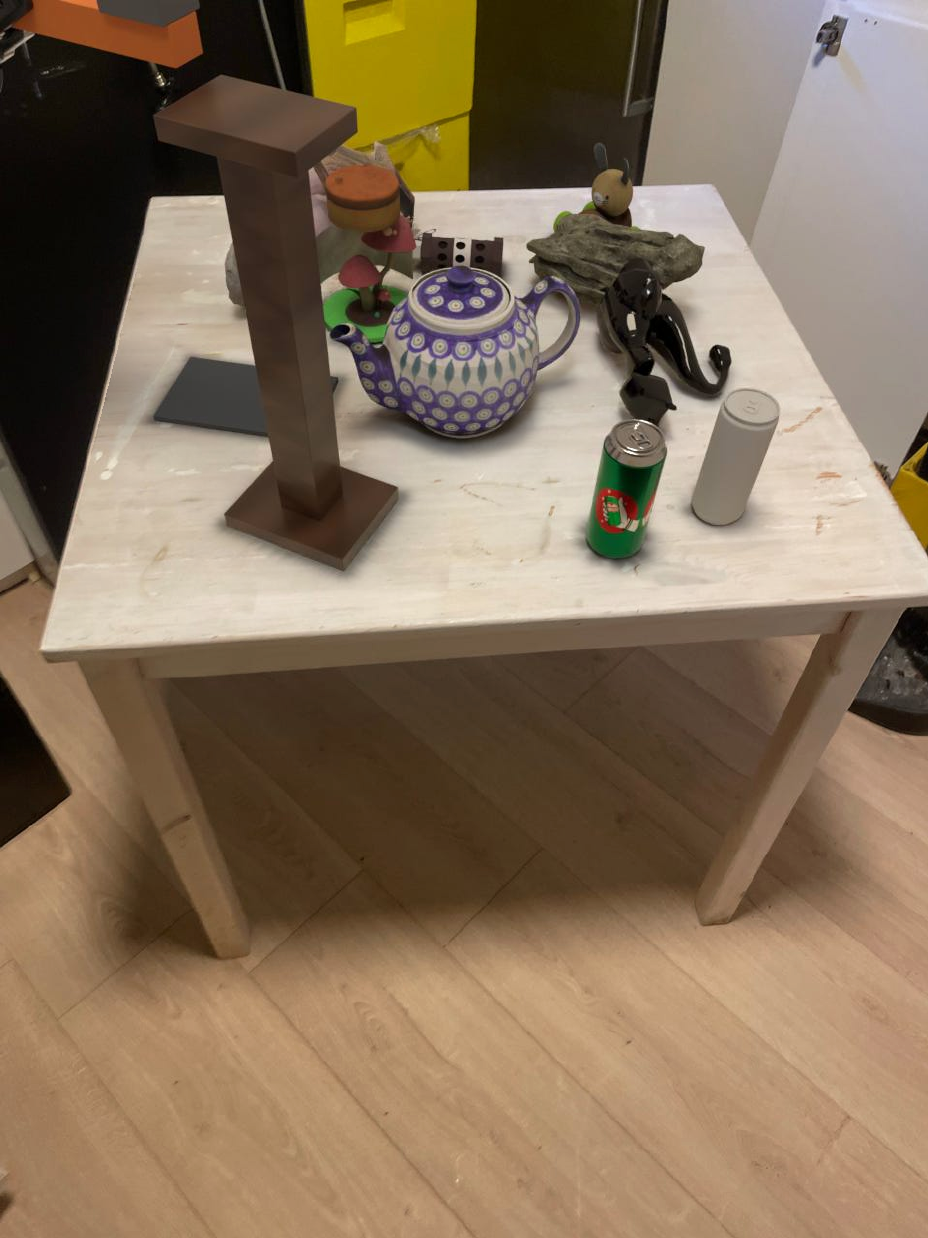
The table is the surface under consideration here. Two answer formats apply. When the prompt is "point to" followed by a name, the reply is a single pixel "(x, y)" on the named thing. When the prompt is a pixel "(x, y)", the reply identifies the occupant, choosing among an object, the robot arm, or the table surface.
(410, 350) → the teapot
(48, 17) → the hammer with orange handle
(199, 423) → the grey mat
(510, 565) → the table surface
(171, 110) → the walnut stand
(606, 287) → the stone
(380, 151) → the fragment
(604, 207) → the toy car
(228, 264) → the stone
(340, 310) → the mushroom terrarium
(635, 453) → the soda can
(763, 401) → the beverage can
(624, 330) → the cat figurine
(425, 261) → the brown holed brick
